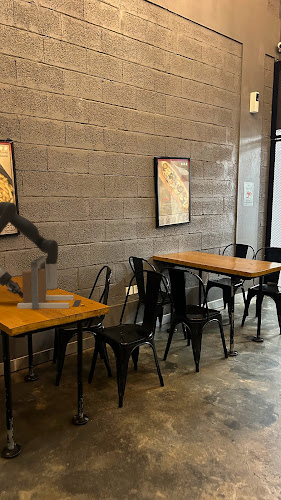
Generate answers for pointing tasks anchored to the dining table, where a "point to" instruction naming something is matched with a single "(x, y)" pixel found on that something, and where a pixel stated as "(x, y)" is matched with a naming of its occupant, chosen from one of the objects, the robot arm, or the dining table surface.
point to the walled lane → (50, 305)
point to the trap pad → (76, 303)
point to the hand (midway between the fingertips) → (23, 296)
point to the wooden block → (28, 286)
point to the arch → (34, 278)
